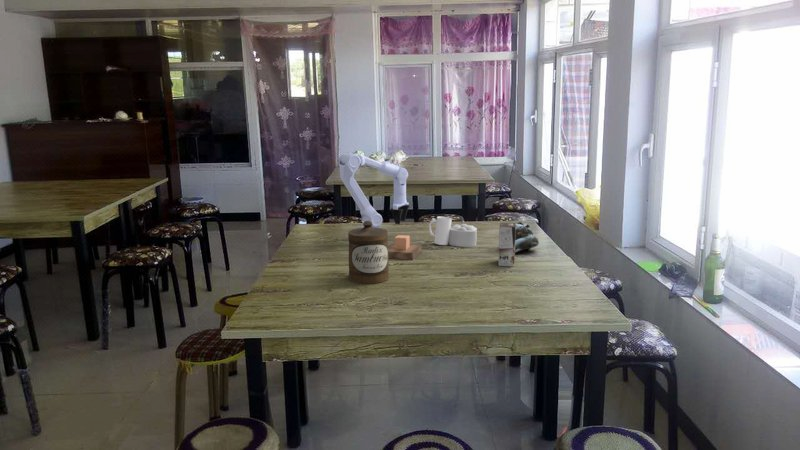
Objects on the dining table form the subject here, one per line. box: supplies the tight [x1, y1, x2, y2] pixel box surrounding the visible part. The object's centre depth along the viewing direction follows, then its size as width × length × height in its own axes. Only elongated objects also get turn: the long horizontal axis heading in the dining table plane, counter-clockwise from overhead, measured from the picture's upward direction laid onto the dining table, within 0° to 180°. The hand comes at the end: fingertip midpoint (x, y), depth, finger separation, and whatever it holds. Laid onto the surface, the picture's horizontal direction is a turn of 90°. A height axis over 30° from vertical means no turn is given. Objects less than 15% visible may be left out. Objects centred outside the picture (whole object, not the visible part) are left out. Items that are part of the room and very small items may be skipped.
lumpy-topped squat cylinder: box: [448, 223, 478, 248], centre depth 292 cm, size 10×13×9 cm
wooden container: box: [347, 221, 390, 285], centre depth 239 cm, size 15×15×22 cm
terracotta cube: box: [394, 234, 411, 250], centre depth 274 cm, size 5×5×5 cm
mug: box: [428, 215, 453, 246], centre depth 292 cm, size 10×7×12 cm, turn 72°
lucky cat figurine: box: [515, 221, 540, 254], centre depth 280 cm, size 15×12×14 cm
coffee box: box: [498, 222, 517, 267], centre depth 259 cm, size 9×6×16 cm
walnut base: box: [388, 242, 423, 261], centre depth 275 cm, size 14×14×3 cm
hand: (400, 222), depth 296 cm, fingers open, 7 cm apart
